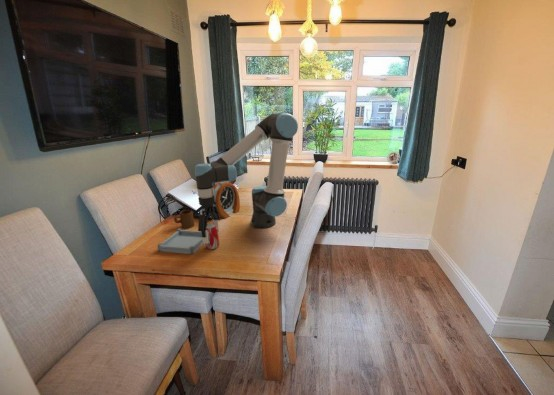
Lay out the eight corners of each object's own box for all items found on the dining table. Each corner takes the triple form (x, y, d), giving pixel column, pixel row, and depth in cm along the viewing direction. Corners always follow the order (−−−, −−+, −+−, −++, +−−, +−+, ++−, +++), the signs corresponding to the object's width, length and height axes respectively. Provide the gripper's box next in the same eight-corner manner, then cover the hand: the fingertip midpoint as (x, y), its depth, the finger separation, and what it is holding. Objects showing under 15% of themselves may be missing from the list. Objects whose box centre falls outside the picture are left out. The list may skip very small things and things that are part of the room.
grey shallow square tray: (210, 236, 146) (209, 230, 145) (192, 254, 128) (191, 247, 127) (179, 234, 150) (178, 228, 149) (158, 251, 133) (157, 244, 131)
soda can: (220, 248, 133) (217, 227, 129) (205, 251, 131) (202, 229, 127) (219, 242, 139) (216, 221, 135) (205, 244, 137) (202, 223, 134)
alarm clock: (221, 220, 168) (218, 186, 160) (210, 218, 172) (206, 184, 165) (242, 209, 186) (240, 178, 179) (231, 207, 190) (229, 177, 183)
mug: (179, 232, 153) (177, 217, 150) (172, 229, 157) (170, 214, 154) (197, 225, 162) (195, 211, 159) (189, 222, 166) (187, 208, 163)
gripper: (210, 188, 138) (214, 226, 145) (186, 203, 116) (192, 247, 123) (223, 189, 137) (227, 227, 143) (201, 204, 115) (207, 248, 121)
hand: (211, 236), depth 133 cm, fingers open, 11 cm apart
